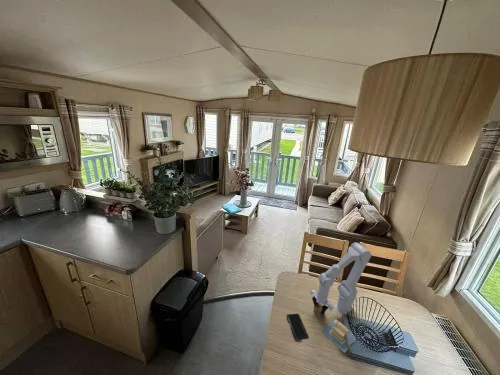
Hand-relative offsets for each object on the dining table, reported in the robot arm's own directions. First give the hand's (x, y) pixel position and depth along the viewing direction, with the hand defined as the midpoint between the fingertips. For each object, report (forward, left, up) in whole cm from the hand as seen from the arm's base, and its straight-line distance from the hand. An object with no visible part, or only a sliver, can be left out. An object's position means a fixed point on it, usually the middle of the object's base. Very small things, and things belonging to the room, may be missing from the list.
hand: (319, 310), depth 127 cm
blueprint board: (+2, +15, -2) cm, 15 cm away
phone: (+18, -1, -2) cm, 18 cm away
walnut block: (0, 0, -1) cm, 1 cm away
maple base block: (+2, +15, -1) cm, 15 cm away
